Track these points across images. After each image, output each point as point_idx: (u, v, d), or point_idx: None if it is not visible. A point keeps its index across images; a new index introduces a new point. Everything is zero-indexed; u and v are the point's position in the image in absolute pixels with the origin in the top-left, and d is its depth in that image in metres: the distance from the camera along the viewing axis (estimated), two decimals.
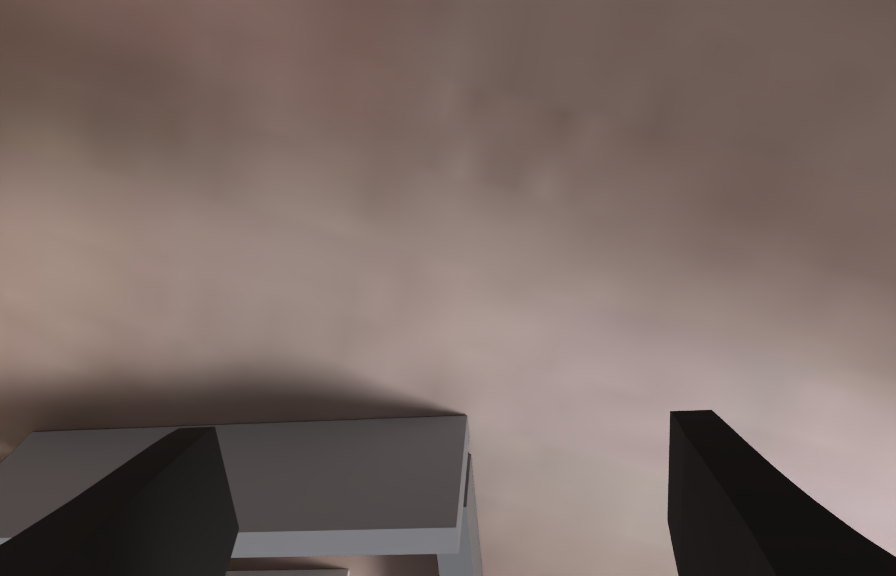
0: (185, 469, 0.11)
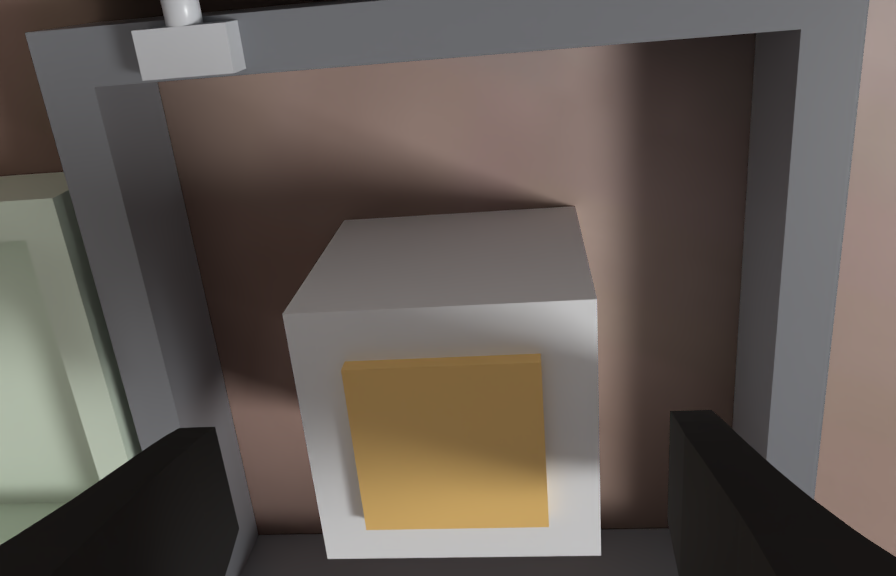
0: (185, 469, 0.11)
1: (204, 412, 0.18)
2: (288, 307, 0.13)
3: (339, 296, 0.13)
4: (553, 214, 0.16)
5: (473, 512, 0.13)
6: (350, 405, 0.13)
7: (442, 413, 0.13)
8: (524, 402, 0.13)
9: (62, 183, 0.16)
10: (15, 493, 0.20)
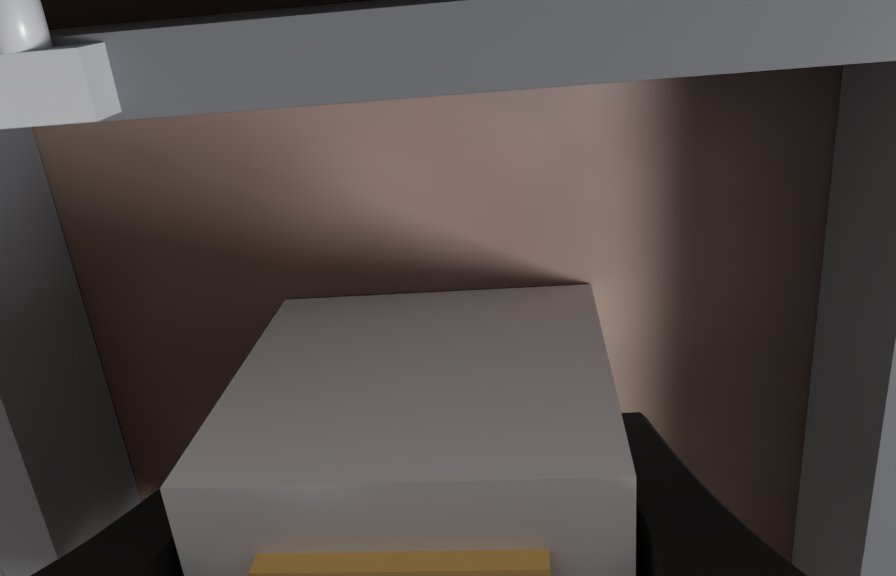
0: None
1: None
2: (172, 473, 0.09)
3: (251, 452, 0.09)
4: (562, 300, 0.12)
5: None
6: None
7: None
8: None
9: None
10: None
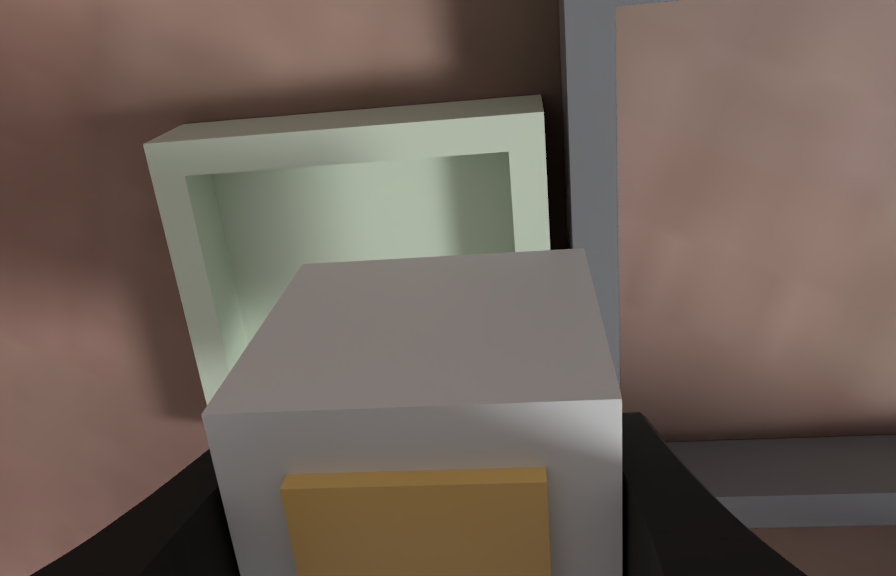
0: None
1: None
2: (211, 403, 0.10)
3: (281, 385, 0.10)
4: (558, 261, 0.13)
5: None
6: (293, 532, 0.10)
7: (415, 544, 0.10)
8: (524, 531, 0.09)
9: (521, 103, 0.18)
10: None
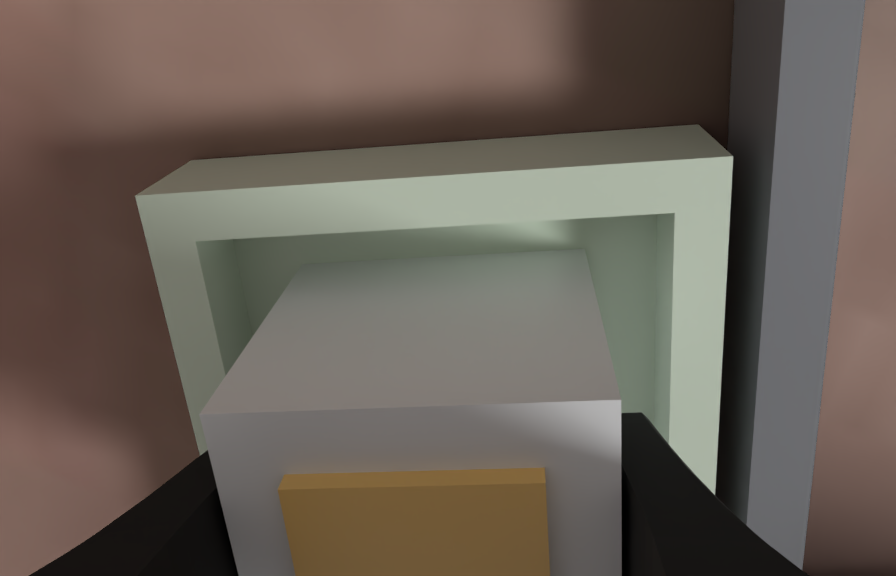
0: None
1: None
2: (209, 403, 0.10)
3: (279, 385, 0.10)
4: (558, 261, 0.13)
5: None
6: (291, 533, 0.10)
7: (413, 544, 0.10)
8: (523, 533, 0.09)
9: (683, 140, 0.12)
10: None
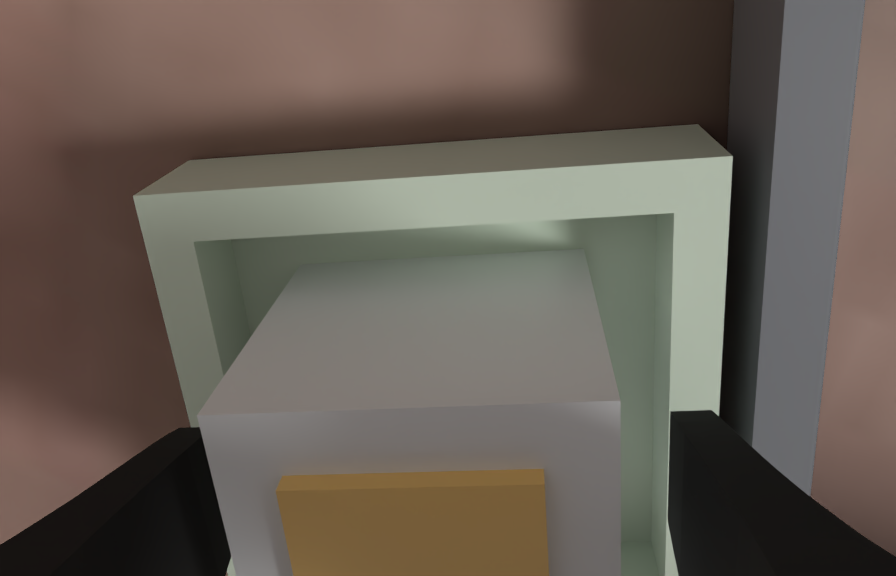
0: (186, 470, 0.11)
1: None
2: (207, 404, 0.10)
3: (277, 387, 0.10)
4: (557, 261, 0.13)
5: None
6: (290, 534, 0.10)
7: (412, 546, 0.10)
8: (522, 534, 0.09)
9: (683, 140, 0.12)
10: None
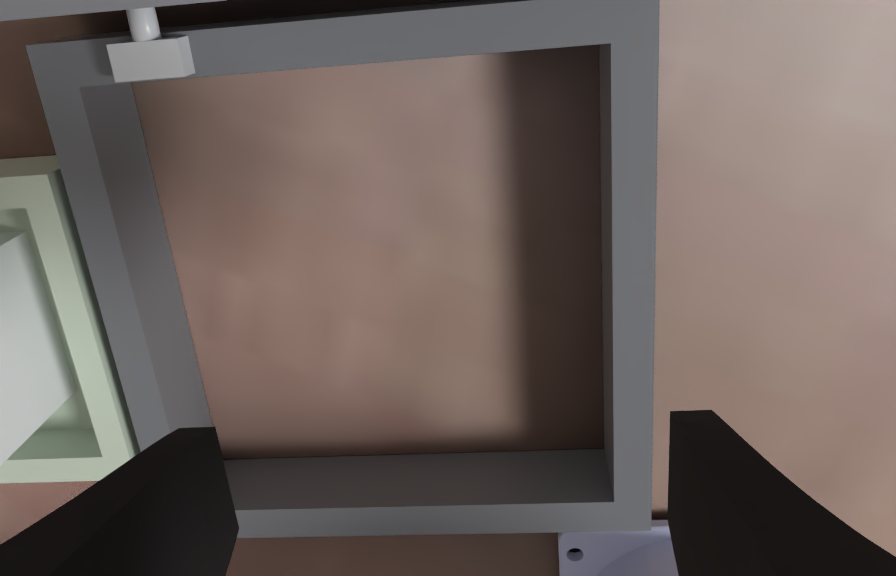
0: (185, 470, 0.11)
1: (171, 350, 0.22)
2: None
3: None
4: None
5: None
6: None
7: None
8: None
9: (55, 163, 0.20)
10: None
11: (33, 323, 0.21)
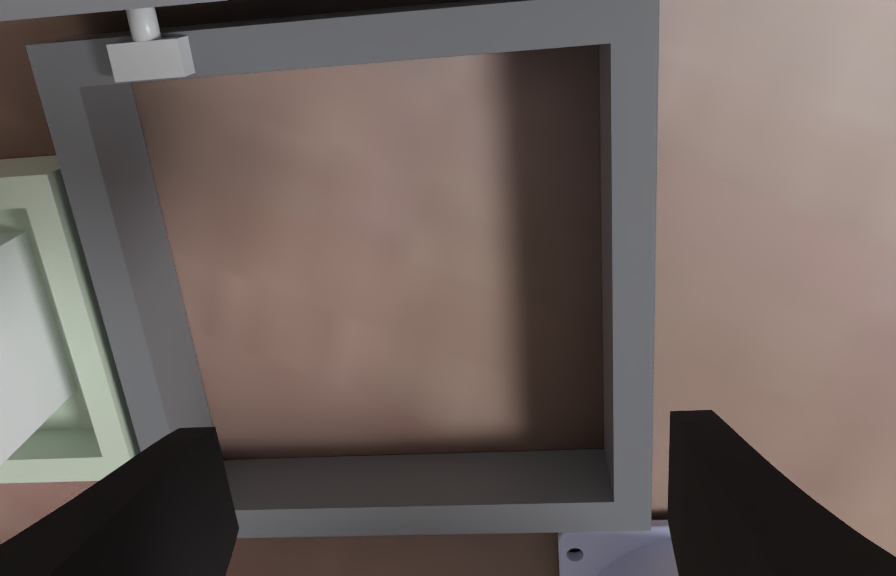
0: (185, 470, 0.11)
1: (171, 350, 0.22)
2: None
3: None
4: None
5: None
6: None
7: None
8: None
9: (55, 163, 0.20)
10: None
11: (33, 323, 0.21)
